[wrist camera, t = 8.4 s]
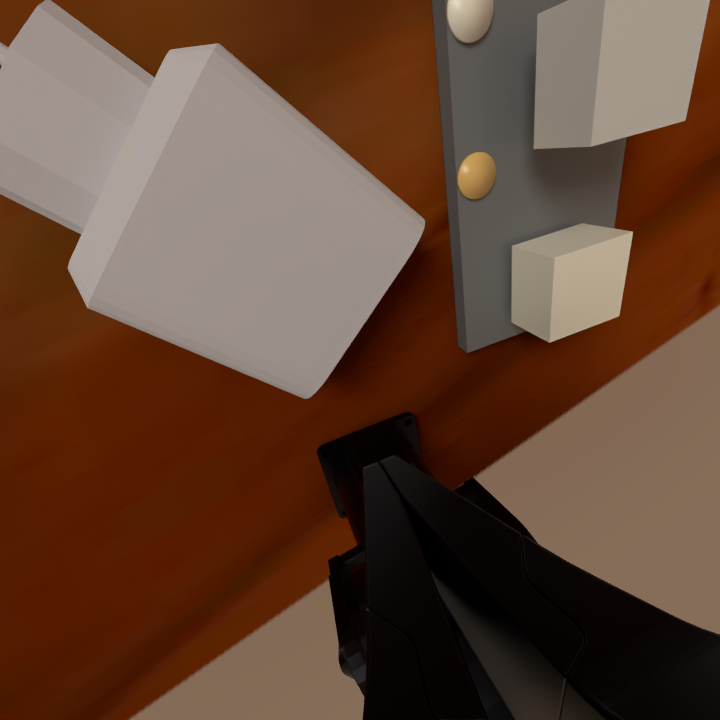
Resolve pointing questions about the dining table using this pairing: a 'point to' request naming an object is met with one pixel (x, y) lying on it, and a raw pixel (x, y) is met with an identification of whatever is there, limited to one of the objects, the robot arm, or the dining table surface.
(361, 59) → the dining table surface
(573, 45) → the key grey
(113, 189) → the charger
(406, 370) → the dining table surface
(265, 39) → the dining table surface
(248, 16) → the dining table surface
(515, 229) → the keypad base
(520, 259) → the key cream
